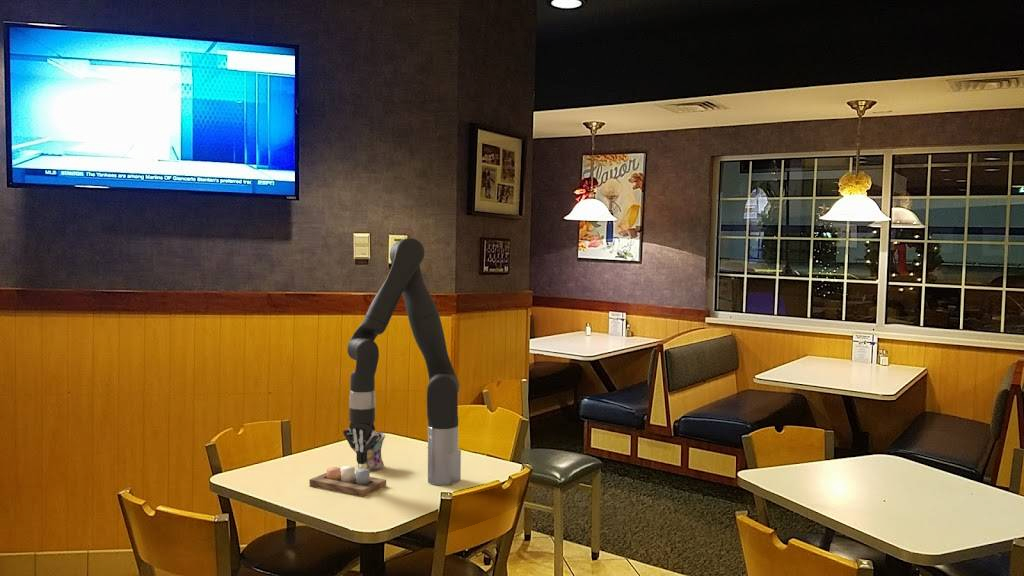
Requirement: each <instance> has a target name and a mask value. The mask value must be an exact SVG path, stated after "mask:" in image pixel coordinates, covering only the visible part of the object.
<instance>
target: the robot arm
mask: <svg viewBox="0 0 1024 576" xmlns="http://www.w3.org/2000/svg"><path fill="white" fill-rule="evenodd" d="M424 259H425V247H424V246H423V244H422V242H421V241H420V240H418V239H416V238H414V237H412V238H411V237H406V238H403V239H400V240H398V241H396V242H394V244H393V245H392V246H391V248H390V250H389V260H390V262H391V268H390V270H389V272H388V275H387V277H386V279H385V281H384V282H383V284H382V285H381V287H380V289H379V290H378V292H377V293H376V294H375V296H374V298H373V299H372V301H371V303H370V305H369V307H368V309H367V312H366V314H365V316H364V318H363V321H362V322H361V323H360V325H359V326H358V327H357V328H356V330H355V332H353V334H352V336H351V337H350V338H349V340H348V344H347V349H346V351H347V354H348V357H350V358H351V359H352V360H354V361H356V363H355V370H353V371H352V372H351V373H350V384H349V385H350V386H349V389H350V390H349V391H350V392H349V398H348V402H349V404H348V406H349V407H348V409H349V410H348V411H349V412H348V415H349V416H348V421H349V427H348V428H347V429H344V430H343V436H344V438H345V439H346V441H347V443H348V444H349V446H350V448H351V449H352V448H354V449H355V450H356V451H357V453H356V462H357V464H365V463H366V462H367V451H368V450H371V449H373V448H374V446H375V445H376V444H377V442H378V441H379V439H380V438H381V434H377V433H376V432H377V431H376V427H375V422H376V391H375V386H376V385H375V381H376V380H375V379H376V378H375V376H376V372H377V368H378V363H379V359H380V351H379V346H378V344H377V343H376V342H375V340H376V339H377V337H378V336H380V335H382V334H384V332H385V331H386V329H387V327H388V325H389V323H390V321H391V320H392V319H391V318H392V316H393V314H394V312H395V309H396V307H397V306H398V303H399V302H400V298H401V297H403V302H404V306H405V309H406V313H407V317H408V322H409V326H410V329H411V332H412V333H411V334H412V335H413V338H414V340H415V342H416V345H417V347H418V349H419V350H420V352H421V354H422V357H423V358H424V361H425V365H426V368H427V374H428V379H429V382H428V384H427V388H426V417H427V482H428V483H429V484H431V485H433V486H434V485H435V486H448V487H449V486H453V485H455V484H457V483H458V482H461V481H462V480H461V477H462V475H461V473H462V470H461V469H462V467H461V466H462V465H461V464H462V463H461V462H462V456H461V455H462V451H461V449H459V414H458V411H459V409H458V406H459V405H458V402H459V400H458V399H459V397H458V396H459V392H460V391H459V390H460V383H459V379H458V378H457V375H456V372H455V369H454V368H453V365H452V362H451V359H450V356H449V352H448V347H447V343H446V337H445V333H444V329H443V323H442V321H441V317H440V316H441V315H440V313H439V310H438V306H437V304H436V302H435V301H434V299H433V297H432V295H431V293H430V291H429V289H428V288H427V286H426V284H425V282H424V278H423V275H422V270H421V264H422V262H423V261H424ZM370 437H371V440H370Z"/></svg>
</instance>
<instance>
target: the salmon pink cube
mask: <svg viewBox="0 0 1024 576" xmlns="http://www.w3.org/2000/svg"><path fill="white" fill-rule="evenodd" d="M340 471H341V468H340V467H337V466H331V467H328V468H326V473H327V479H331V480H336V479H339V478H340Z"/></svg>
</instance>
